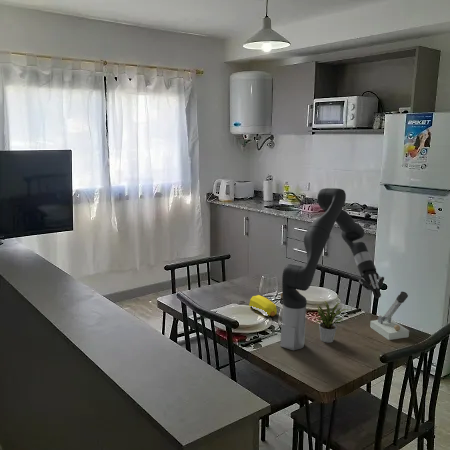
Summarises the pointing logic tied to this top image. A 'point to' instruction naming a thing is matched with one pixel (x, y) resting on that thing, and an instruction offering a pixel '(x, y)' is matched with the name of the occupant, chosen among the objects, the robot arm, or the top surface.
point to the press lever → (395, 306)
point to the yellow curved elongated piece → (263, 304)
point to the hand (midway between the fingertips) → (378, 297)
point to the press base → (389, 329)
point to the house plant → (328, 323)
